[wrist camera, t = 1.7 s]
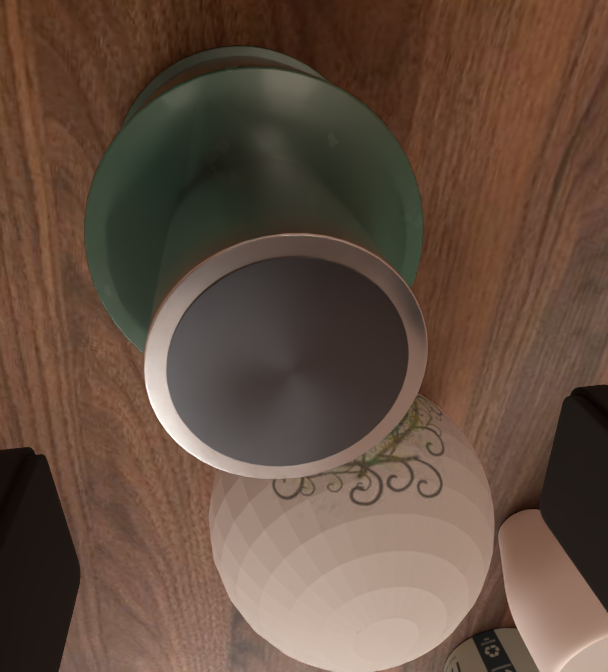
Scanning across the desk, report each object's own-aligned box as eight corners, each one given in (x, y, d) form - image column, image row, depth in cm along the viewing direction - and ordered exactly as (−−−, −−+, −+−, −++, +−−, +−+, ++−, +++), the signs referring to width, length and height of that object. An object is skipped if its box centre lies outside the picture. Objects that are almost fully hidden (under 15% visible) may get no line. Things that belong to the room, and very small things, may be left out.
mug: (480, 575, 47) (554, 722, 37) (467, 510, 43) (546, 654, 33) (616, 530, 47) (727, 664, 37) (615, 460, 42) (740, 590, 33)
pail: (90, 49, 25) (25, 57, 16) (371, 41, 26) (452, 44, 17) (138, 309, 31) (110, 417, 22) (363, 290, 32) (420, 384, 24)
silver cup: (152, 162, 18) (117, 245, 11) (354, 151, 19) (442, 222, 12) (179, 342, 21) (165, 496, 14) (350, 326, 22) (418, 465, 15)
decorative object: (455, 327, 34) (605, 506, 21) (410, 506, 41) (502, 722, 28) (211, 322, 32) (212, 524, 19) (206, 514, 39) (205, 757, 26)
